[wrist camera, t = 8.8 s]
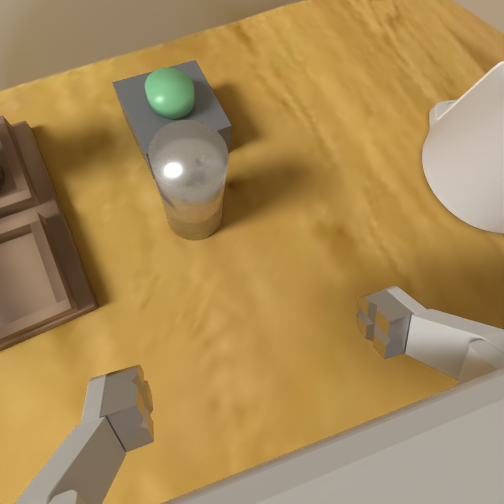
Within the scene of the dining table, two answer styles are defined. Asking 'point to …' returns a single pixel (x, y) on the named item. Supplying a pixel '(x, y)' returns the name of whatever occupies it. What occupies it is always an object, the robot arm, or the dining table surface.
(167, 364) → the dining table surface
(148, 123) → the console
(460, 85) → the dining table surface
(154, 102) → the button
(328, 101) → the dining table surface
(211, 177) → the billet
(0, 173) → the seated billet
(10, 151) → the brown wooden tray
